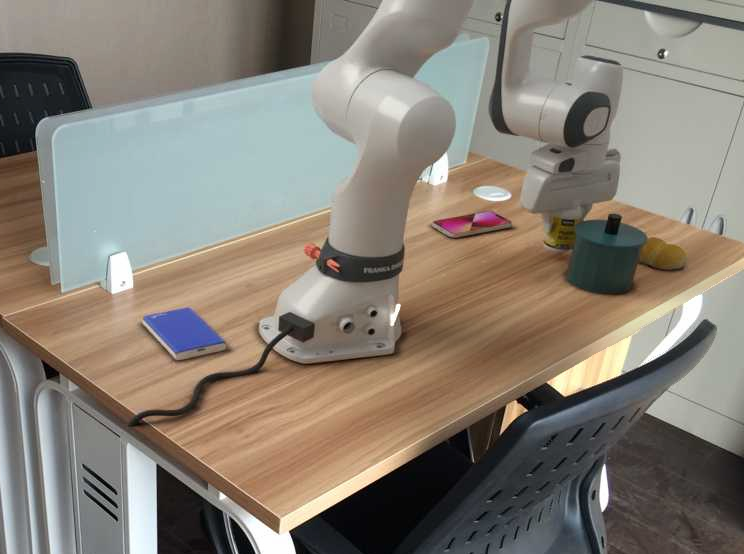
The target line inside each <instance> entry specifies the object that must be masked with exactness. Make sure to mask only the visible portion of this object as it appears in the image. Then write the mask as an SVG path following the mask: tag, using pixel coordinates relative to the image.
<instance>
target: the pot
mask: <svg viewBox="0 0 744 554" xmlns="http://www.w3.org/2000/svg"><path fill="white" fill-rule="evenodd" d="M642 247H643V246H641V247H638V248H633V249H616V248H609V247H603V246H599V245H596V244H592V243H590V242H587V241H585V240H583V239H581V238H580V237H578V236H577V235H576V236H575V240H574V244H573V248H572V250H571V251H570V252H571V253H570V257H569V260H568V265H567V268H566V275H565V277H566V279H567V281H568V282H569V283H570V284H572V285H573V286H575V287H577V288H578V289H579V288H580V290H581V289H582V290H584V291H588V292H590V293H591V292H592V293H595V294H596V293H597V294H602V295H617V294H622V293H625V292H627V291H629V290H630V289H631V287H632V285H633V283H634V282H633V281H634V278H635V275H636V272H637V268H638V264H639V262H640V261H639V258H640V254H641V251H642Z"/></svg>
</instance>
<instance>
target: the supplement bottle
mask: <svg viewBox="0 0 744 554" xmlns="http://www.w3.org/2000/svg"><path fill="white" fill-rule="evenodd" d="M580 202H581V199H578V200H573V201H572V205H571V206H570V208H566V209H560V210H555V214H554V216H552V220H553V222H554V223H556V227H555V231H554V232H551V233H546V232H544V238H543V243H542V245H543V247H544V248H545V249H546V250H548V251H551V252H554V253H559V254H560V253H562V254H563V253H569V252H572V248H573V244H574V240H575V236H576V233H575V231H574V229H575V226H576V224H578V223H580V219H581V214H582V213H581V210H580V209H579V207H580V206H579V205H580Z"/></svg>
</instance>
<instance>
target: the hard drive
mask: <svg viewBox="0 0 744 554" xmlns="http://www.w3.org/2000/svg"><path fill="white" fill-rule="evenodd" d="M142 325H143V326H144V327H145V328H146V329H147V330H148V331H149V332H150V334H151V335H152V336H153V337H154V338H155V339H156V340H157V341H158V342H159V343H160V344H161V345H162V347H164V348H165V349H166V351H168V353H169V354H170V355H171V356H172V357H173V358H174V360H176V361H183V360H187V359H191V358H196V357H200V356H204V355H209V354H213V353H218V352H222V351H225V350H226V349H227V342H226V341H225V340H224V339H223V338H222V337H221V336H220V335H219V334H218V333H217V332H216V331H215V330H214V329H213V328H212V327H211V326H210V325H208V323H206V321H204V320H203V319H202V318H201V316H199V315H198V314H197V313H196V312H195V311H194V310H193V309H192V308H191V307H182V308H177V309H173V310H167V311H163V312H157V313H152V314H149V315H148V314H147V315H144V316H143V317H142Z"/></svg>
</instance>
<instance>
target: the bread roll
mask: <svg viewBox="0 0 744 554" xmlns="http://www.w3.org/2000/svg"><path fill="white" fill-rule="evenodd" d="M686 260H687V253H686V251H685V249H684V248H682V247H681V246H679V245H676V244H672V243H667V242H666V241H665V240H664V239H662V238H659V237H656V236H650V237H647V242H646V244H645V245H643V247H642V251H641V254H640V258H639V261H638V262H640V263H642V264H645V265H650V266H651V267H652V268H655V269H658V270H667V271H668V270H677V269H681V268H682V267H683V266H684V265H685V263H686Z"/></svg>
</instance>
